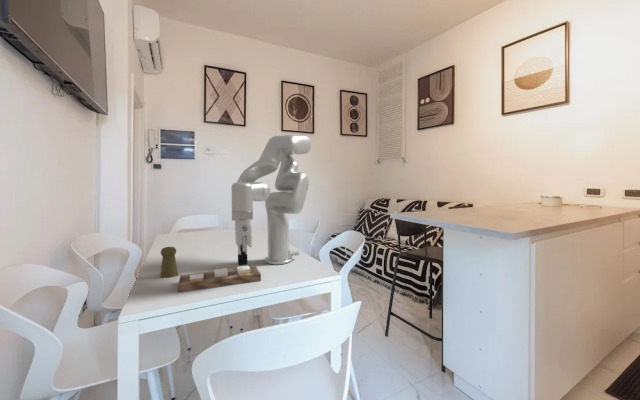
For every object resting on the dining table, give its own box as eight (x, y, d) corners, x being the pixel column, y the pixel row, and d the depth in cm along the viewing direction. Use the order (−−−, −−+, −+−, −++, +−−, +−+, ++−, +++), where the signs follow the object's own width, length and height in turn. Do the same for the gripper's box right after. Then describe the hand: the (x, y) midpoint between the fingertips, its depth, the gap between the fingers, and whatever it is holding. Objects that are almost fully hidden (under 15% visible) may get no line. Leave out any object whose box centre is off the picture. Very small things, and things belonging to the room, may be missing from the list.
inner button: (248, 271, 105) (248, 265, 105) (250, 275, 101) (250, 268, 101) (236, 273, 103) (236, 266, 103) (238, 277, 99) (238, 270, 99)
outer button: (203, 280, 99) (203, 273, 99) (203, 284, 95) (203, 277, 95) (190, 281, 97) (190, 274, 97) (189, 286, 93) (189, 279, 93)
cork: (160, 274, 107) (159, 246, 106) (177, 271, 110) (176, 244, 109) (160, 278, 102) (159, 249, 101) (178, 276, 105) (177, 248, 104)
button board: (255, 272, 109) (255, 265, 109) (260, 280, 100) (260, 273, 100) (180, 282, 98) (180, 274, 98) (178, 292, 89) (178, 284, 89)
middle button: (226, 274, 102) (226, 268, 102) (227, 278, 98) (227, 271, 98) (214, 276, 100) (214, 269, 100) (214, 280, 96) (214, 273, 96)
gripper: (256, 217, 95) (256, 269, 96) (249, 213, 109) (249, 258, 110) (234, 218, 92) (234, 271, 93) (229, 214, 106) (230, 260, 107)
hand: (242, 264), depth 102 cm, fingers closed
